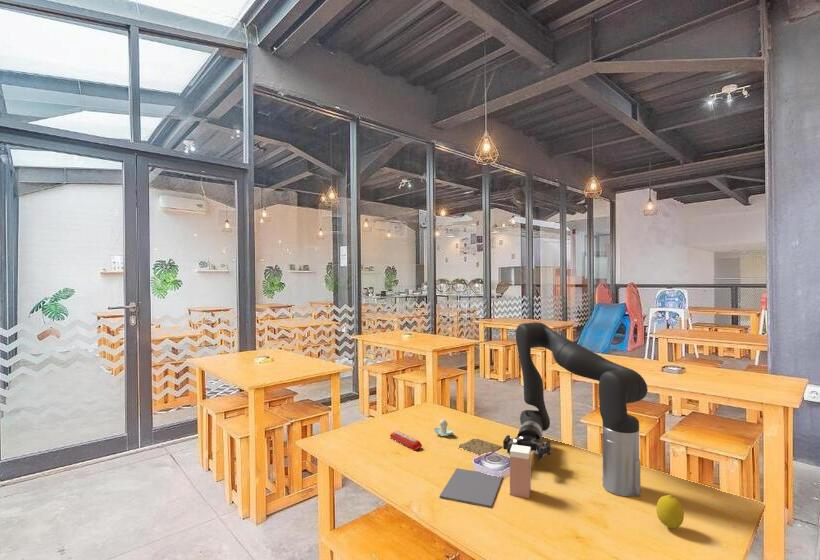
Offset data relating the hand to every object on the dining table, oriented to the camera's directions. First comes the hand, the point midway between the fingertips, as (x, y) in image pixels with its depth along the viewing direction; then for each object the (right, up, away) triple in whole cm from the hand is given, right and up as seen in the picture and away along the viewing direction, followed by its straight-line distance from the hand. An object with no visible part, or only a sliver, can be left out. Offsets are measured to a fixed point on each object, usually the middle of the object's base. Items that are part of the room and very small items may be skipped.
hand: (524, 454), depth 128 cm
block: (-4, -7, -10) cm, 12 cm away
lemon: (+27, -7, -27) cm, 39 cm away
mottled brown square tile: (-10, -7, +22) cm, 25 cm away
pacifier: (-21, -7, +34) cm, 40 cm away
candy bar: (-36, -7, +25) cm, 44 cm away
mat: (-17, -7, -7) cm, 19 cm away
